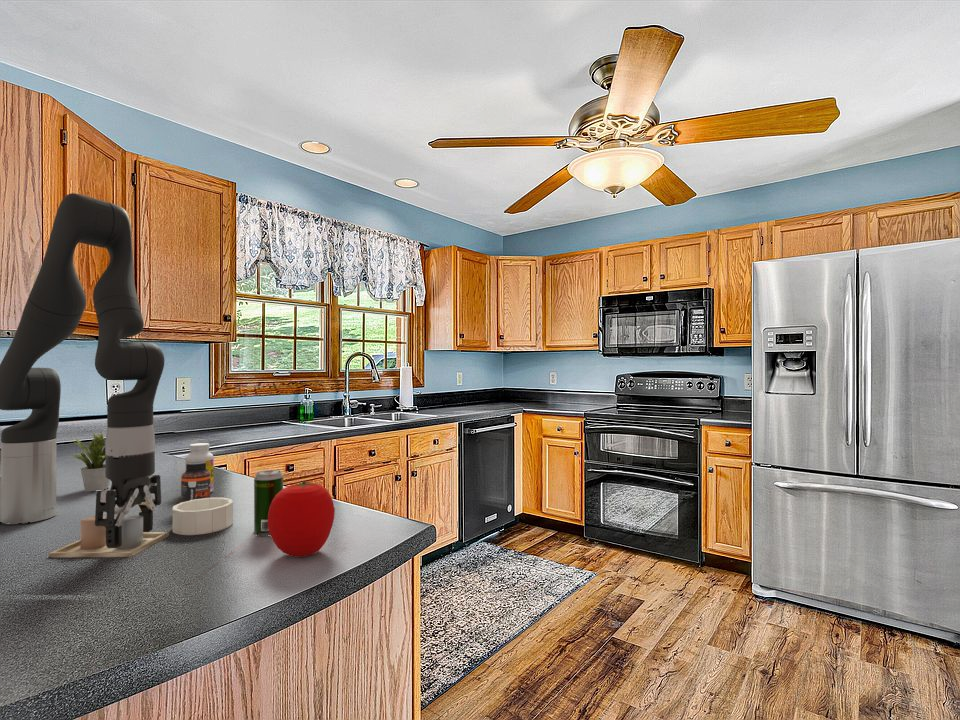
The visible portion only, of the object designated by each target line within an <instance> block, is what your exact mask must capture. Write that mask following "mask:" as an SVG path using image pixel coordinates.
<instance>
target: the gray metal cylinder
mask: <svg viewBox="0 0 960 720" xmlns="http://www.w3.org/2000/svg"><path fill="white" fill-rule="evenodd" d="M120 526H122V545H121V546H120V547H118V548H117V549H119V550H127V549H133V548H137V547H139V546H140V545H142V544H143V516H140V515H139V514H137V515H135V514H134V515H128V516H124V518H123V520H122V523H121V525H120Z"/></svg>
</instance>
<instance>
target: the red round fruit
mask: <svg viewBox="0 0 960 720" xmlns="http://www.w3.org/2000/svg"><path fill="white" fill-rule="evenodd" d="M315 482H316V481H314V482H311V481H308V482H306V480H302V482H298V483H294V484H291V485H288V486H285V487H283V489H282V490H281V491H280V492H279V493H278V494H277V495H276V496H275V497H274V499H273V500H272V503H271V505H270V508H269V513H268V528H269V533H270V535H271V536H270V537H271V539H272V541H273V543H274V545H275V546H276V547H277V549H278V550H280V551H281V552H282V553H283V554H285V555H288V556H291V557H295V558H296V557H298V558H301V557H302V558H303V557H308V556H311V555H315V554H316V553H318V552H319V551H320V550H321V549H322V548H323V547H324V546H325V544H326V542H327V540H328V538H329V536H330V534H331V530H332V527H333V525H334V524H333V523H334V520H335V514H336V513H335V510H336V509H335V504H334V500H333V497H332V495H331V493H330V492H329V491H328V489H327V488H326V487H324V486H323V485H322V484H319V483H315Z"/></svg>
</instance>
